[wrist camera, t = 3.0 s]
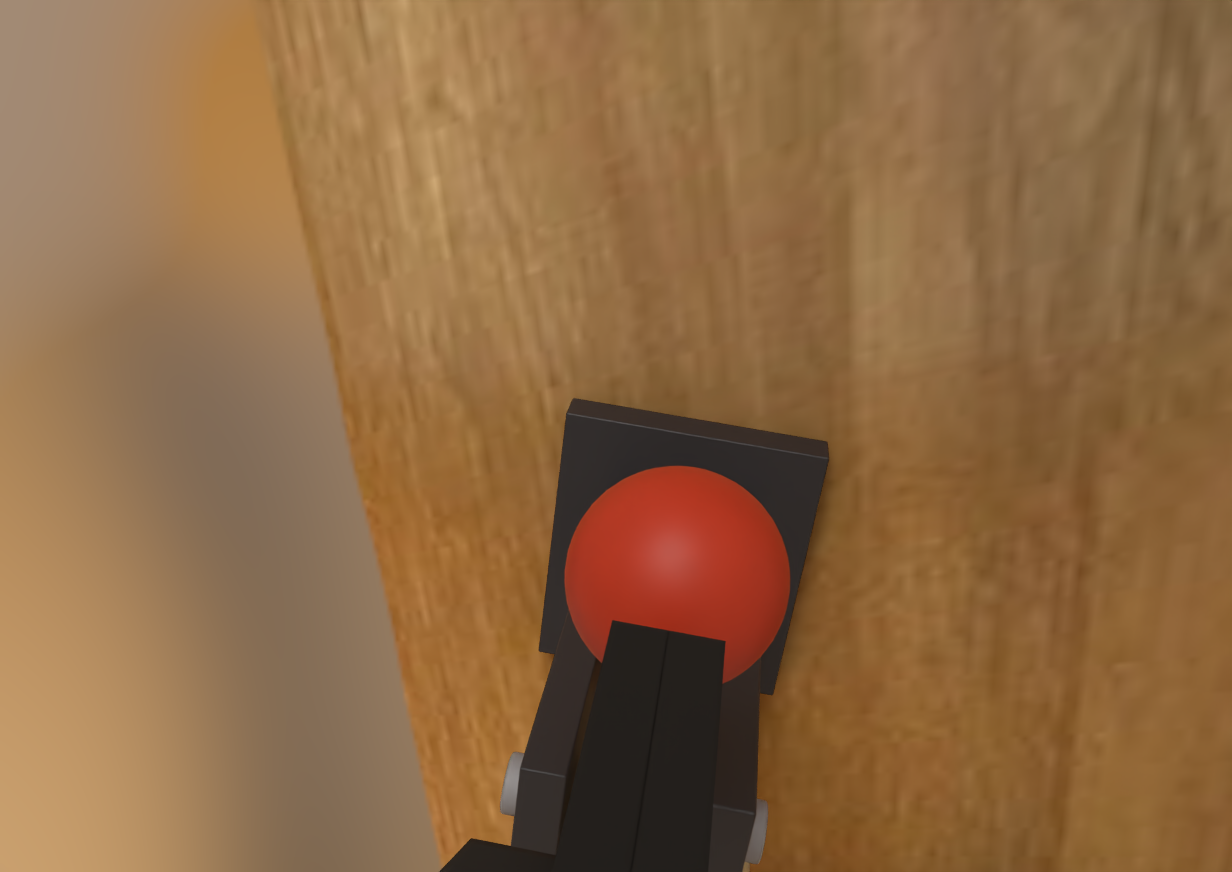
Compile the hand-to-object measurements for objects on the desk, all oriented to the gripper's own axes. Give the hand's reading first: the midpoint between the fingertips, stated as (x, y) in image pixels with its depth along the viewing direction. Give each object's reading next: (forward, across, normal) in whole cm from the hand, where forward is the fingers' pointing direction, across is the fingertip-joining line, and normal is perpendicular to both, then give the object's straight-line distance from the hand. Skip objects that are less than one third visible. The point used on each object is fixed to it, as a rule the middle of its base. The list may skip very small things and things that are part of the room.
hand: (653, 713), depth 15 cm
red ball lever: (+7, 0, -4) cm, 8 cm away
